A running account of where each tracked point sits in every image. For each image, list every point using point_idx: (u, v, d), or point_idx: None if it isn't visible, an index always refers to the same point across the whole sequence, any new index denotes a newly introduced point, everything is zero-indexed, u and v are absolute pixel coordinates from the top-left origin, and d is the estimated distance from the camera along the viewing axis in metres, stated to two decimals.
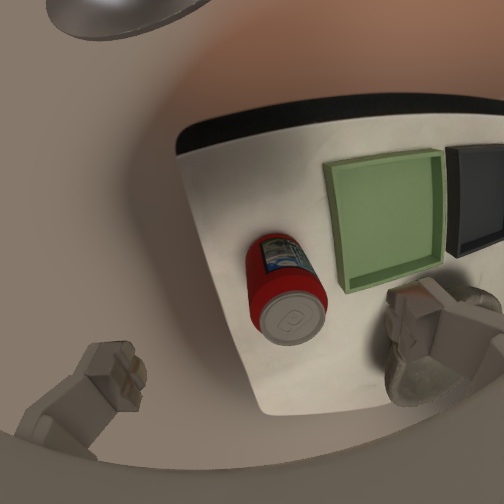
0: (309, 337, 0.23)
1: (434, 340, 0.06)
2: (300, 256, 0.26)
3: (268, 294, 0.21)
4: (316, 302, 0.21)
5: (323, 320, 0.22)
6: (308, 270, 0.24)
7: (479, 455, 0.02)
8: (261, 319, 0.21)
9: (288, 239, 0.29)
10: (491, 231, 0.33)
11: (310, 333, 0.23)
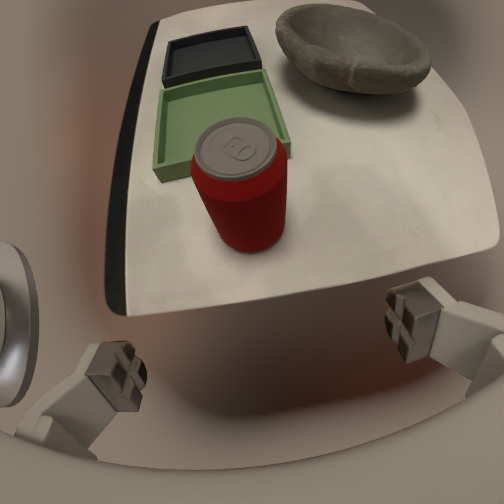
0: (266, 127, 0.17)
1: (434, 340, 0.06)
2: None
3: (199, 176, 0.17)
4: (215, 128, 0.18)
5: (240, 117, 0.18)
6: None
7: (479, 455, 0.02)
8: (223, 175, 0.16)
9: None
10: (246, 43, 0.40)
11: (262, 128, 0.18)
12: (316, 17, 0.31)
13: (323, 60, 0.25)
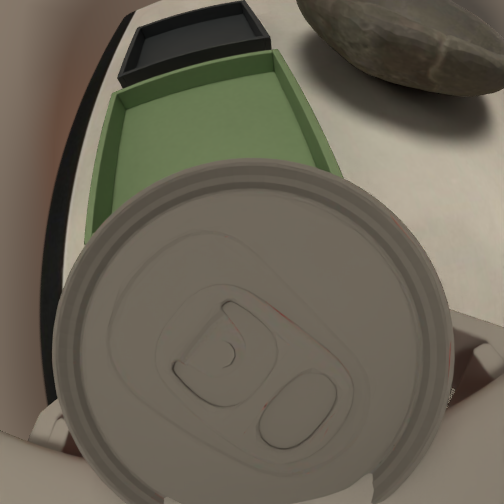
0: (393, 232, 0.03)
1: None
2: None
3: None
4: (134, 225, 0.04)
5: (255, 164, 0.04)
6: None
7: (479, 455, 0.02)
8: None
9: None
10: (244, 22, 0.26)
11: (368, 231, 0.03)
12: None
13: (392, 28, 0.11)
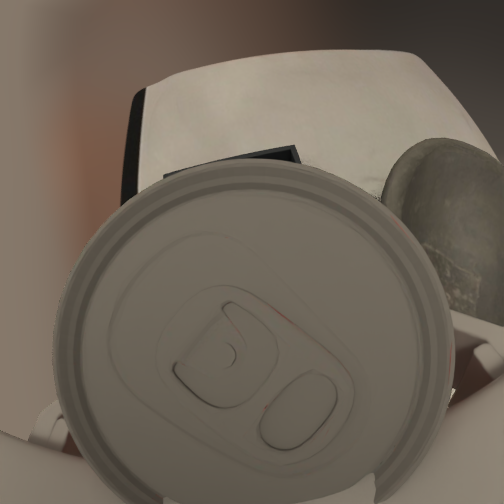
0: (394, 233, 0.03)
1: None
2: None
3: None
4: (134, 225, 0.04)
5: (255, 165, 0.04)
6: None
7: (479, 455, 0.02)
8: None
9: None
10: None
11: (368, 232, 0.03)
12: (426, 175, 0.21)
13: None
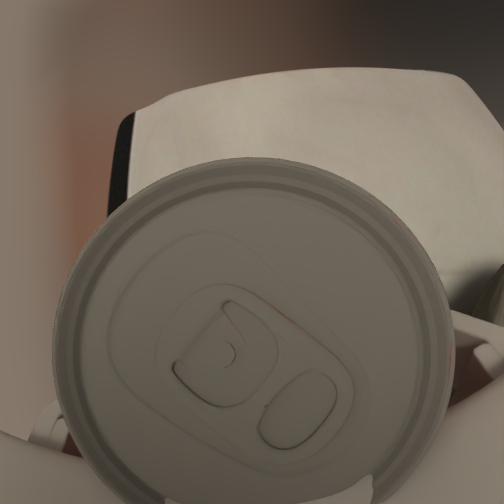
0: (394, 232, 0.03)
1: None
2: None
3: None
4: (134, 224, 0.04)
5: (255, 164, 0.04)
6: None
7: (479, 455, 0.02)
8: None
9: None
10: None
11: (368, 230, 0.03)
12: None
13: None
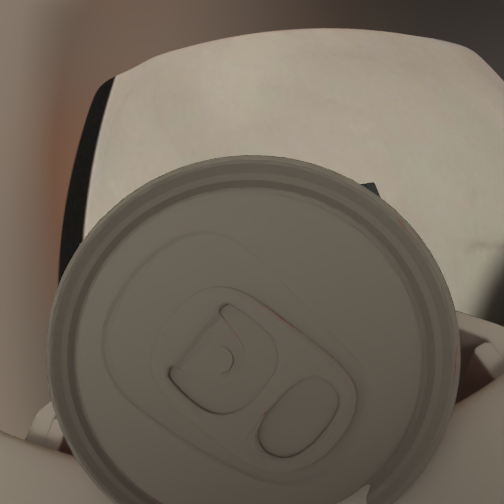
0: (398, 232, 0.03)
1: None
2: None
3: None
4: (129, 224, 0.04)
5: (254, 162, 0.04)
6: None
7: (479, 455, 0.02)
8: None
9: None
10: None
11: (371, 231, 0.03)
12: None
13: None
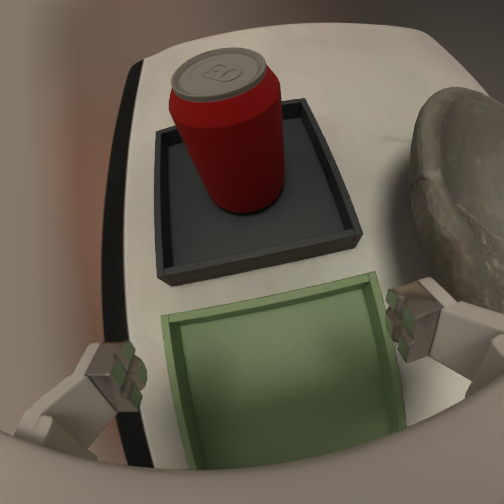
0: (253, 53, 0.13)
1: (434, 340, 0.06)
2: None
3: (176, 105, 0.13)
4: (196, 61, 0.14)
5: (225, 49, 0.14)
6: None
7: (479, 455, 0.02)
8: (202, 95, 0.12)
9: None
10: (307, 142, 0.25)
11: (249, 55, 0.13)
12: (456, 123, 0.16)
13: None
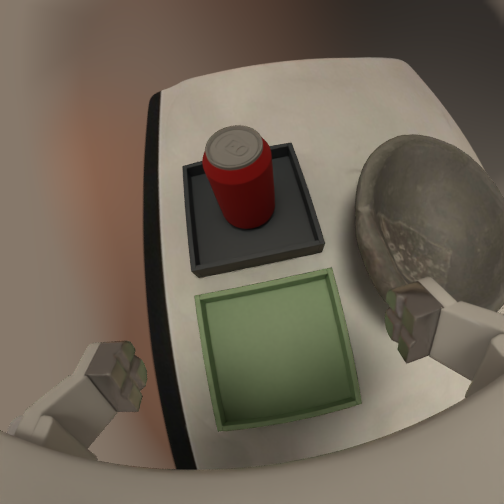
0: (255, 132, 0.25)
1: (434, 340, 0.06)
2: None
3: (209, 168, 0.25)
4: (219, 134, 0.25)
5: (237, 126, 0.25)
6: None
7: (479, 455, 0.02)
8: (226, 166, 0.23)
9: None
10: (292, 176, 0.36)
11: (252, 133, 0.25)
12: (397, 164, 0.28)
13: None
